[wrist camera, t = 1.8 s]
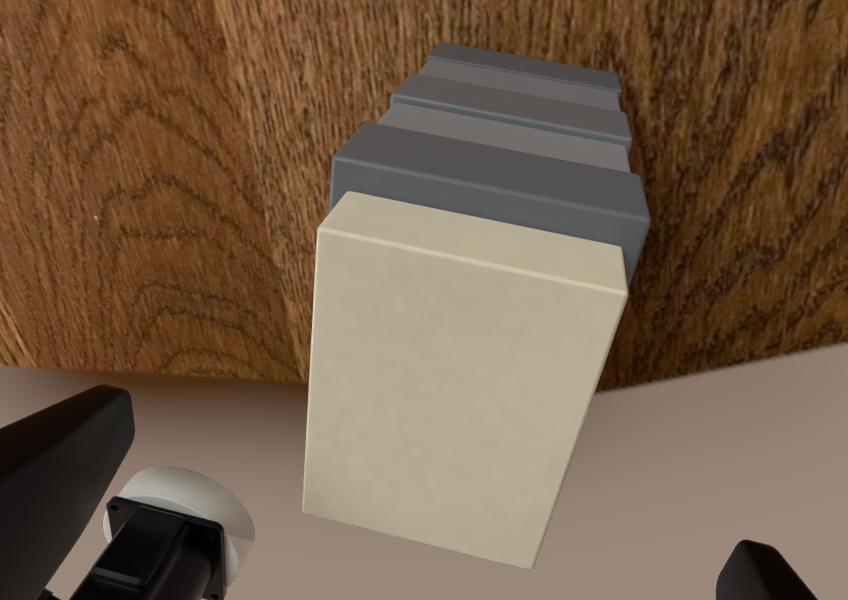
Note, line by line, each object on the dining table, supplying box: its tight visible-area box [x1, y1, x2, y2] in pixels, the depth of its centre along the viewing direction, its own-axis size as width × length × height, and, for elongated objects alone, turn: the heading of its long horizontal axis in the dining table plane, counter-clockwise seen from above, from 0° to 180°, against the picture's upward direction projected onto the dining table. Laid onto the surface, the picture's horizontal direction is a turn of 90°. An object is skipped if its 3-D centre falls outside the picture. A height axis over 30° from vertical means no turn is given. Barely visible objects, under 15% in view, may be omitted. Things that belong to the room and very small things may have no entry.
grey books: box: [328, 42, 651, 289], centre depth 16 cm, size 7×5×10 cm
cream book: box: [302, 191, 628, 570], centre depth 11 cm, size 6×4×2 cm
